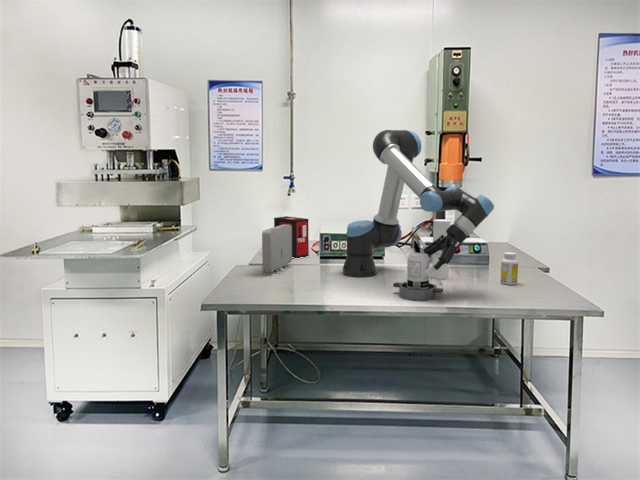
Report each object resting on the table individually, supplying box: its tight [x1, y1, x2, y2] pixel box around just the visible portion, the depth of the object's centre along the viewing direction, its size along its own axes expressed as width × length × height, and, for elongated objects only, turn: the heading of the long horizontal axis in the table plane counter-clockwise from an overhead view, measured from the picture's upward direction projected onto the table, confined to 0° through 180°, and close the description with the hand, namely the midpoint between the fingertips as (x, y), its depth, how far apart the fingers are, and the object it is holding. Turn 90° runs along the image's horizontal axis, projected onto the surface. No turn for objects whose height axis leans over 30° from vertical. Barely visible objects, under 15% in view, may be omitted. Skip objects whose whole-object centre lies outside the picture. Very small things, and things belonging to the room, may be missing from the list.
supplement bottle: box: [500, 251, 519, 286], centre depth 228 cm, size 7×7×13 cm
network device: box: [261, 224, 293, 275], centre depth 253 cm, size 26×9×20 cm, turn 161°
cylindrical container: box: [431, 218, 452, 280], centre depth 239 cm, size 7×7×25 cm
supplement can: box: [406, 252, 431, 290], centre depth 208 cm, size 8×8×15 cm
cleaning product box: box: [273, 215, 310, 259], centre depth 289 cm, size 16×9×20 cm, turn 46°
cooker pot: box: [393, 281, 444, 302], centre depth 209 cm, size 19×14×4 cm
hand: (421, 271), depth 207 cm, fingers open, 13 cm apart
